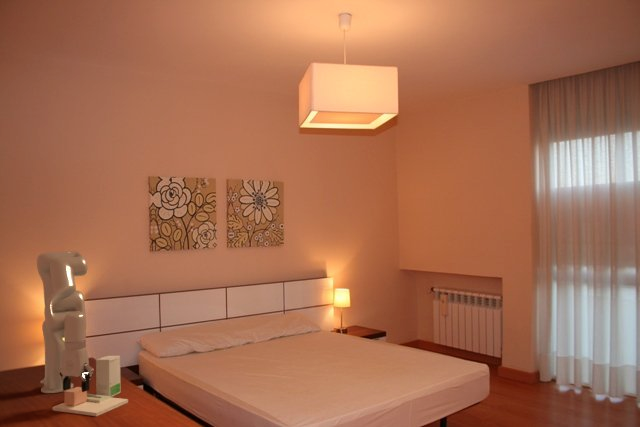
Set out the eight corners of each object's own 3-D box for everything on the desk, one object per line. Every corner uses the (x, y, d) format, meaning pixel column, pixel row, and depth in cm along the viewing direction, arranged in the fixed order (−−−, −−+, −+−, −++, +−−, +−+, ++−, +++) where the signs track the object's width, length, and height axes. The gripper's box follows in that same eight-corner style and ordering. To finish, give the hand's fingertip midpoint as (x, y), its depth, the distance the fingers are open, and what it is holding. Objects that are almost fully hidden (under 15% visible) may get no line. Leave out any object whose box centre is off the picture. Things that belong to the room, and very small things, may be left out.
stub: (64, 404, 196) (64, 391, 196) (77, 399, 201) (77, 386, 201) (74, 405, 194) (74, 392, 194) (86, 400, 199) (86, 387, 200)
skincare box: (109, 398, 206) (109, 360, 207) (95, 398, 208) (94, 359, 208) (121, 392, 214) (121, 355, 215) (107, 391, 216) (107, 354, 216)
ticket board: (52, 410, 194) (52, 404, 194) (86, 397, 209) (86, 391, 209) (96, 416, 186) (96, 409, 186) (128, 402, 201) (128, 396, 201)
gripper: (50, 347, 198) (51, 391, 197) (84, 348, 192) (85, 394, 190) (67, 343, 205) (67, 386, 204) (99, 344, 199) (100, 388, 197)
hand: (76, 390), depth 197 cm, fingers open, 9 cm apart
